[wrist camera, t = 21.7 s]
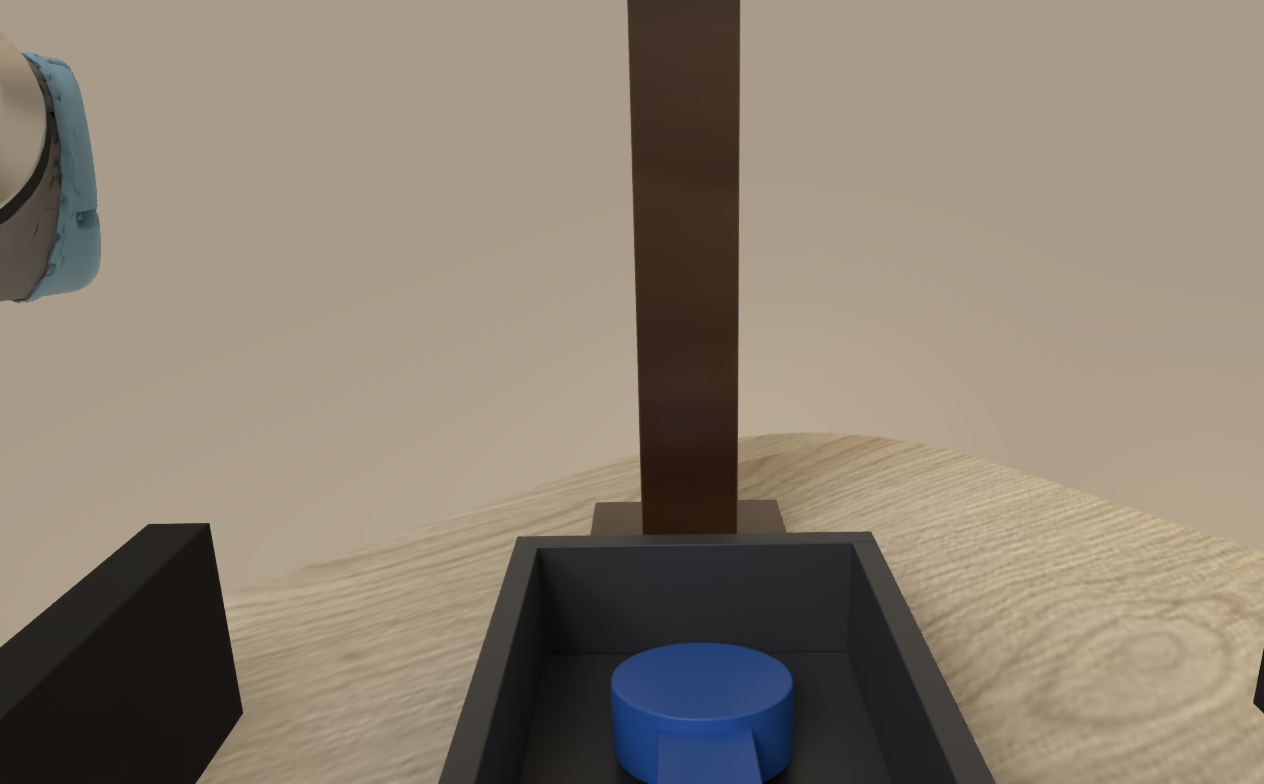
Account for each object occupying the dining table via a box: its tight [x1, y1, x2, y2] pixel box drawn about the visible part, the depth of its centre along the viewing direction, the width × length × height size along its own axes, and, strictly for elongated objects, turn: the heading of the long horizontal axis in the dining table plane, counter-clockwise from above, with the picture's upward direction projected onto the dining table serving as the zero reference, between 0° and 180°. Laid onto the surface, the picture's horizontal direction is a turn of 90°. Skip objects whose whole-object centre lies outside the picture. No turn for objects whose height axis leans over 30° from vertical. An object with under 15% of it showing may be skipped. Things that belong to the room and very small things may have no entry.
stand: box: [590, 0, 786, 536], centre depth 33 cm, size 8×8×31 cm
